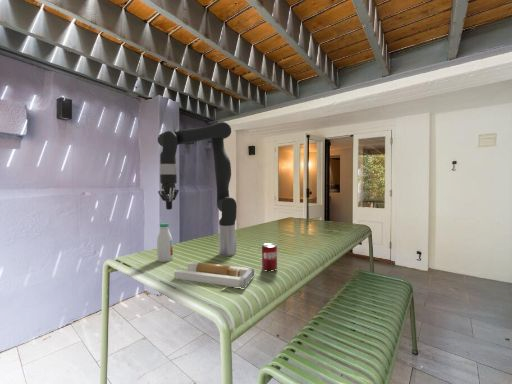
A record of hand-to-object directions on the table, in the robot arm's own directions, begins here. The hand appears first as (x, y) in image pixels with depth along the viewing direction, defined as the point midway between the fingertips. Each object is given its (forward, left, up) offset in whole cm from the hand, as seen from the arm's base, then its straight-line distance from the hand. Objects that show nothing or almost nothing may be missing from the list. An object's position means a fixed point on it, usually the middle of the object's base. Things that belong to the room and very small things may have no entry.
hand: (169, 209), depth 117 cm
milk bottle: (-6, -12, -29) cm, 32 cm away
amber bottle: (+1, +20, -26) cm, 32 cm away
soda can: (-23, +43, -29) cm, 57 cm away
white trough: (-1, +27, -29) cm, 40 cm away
